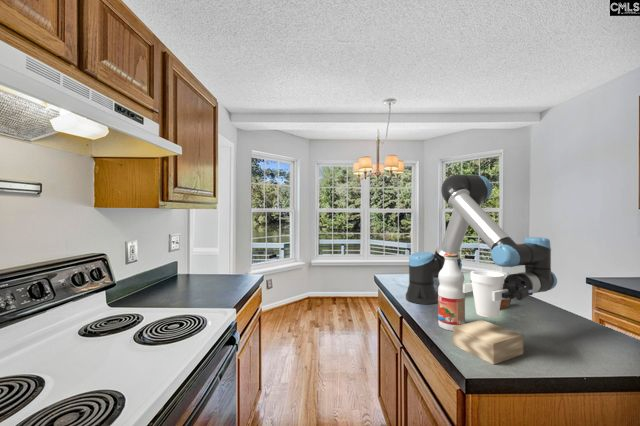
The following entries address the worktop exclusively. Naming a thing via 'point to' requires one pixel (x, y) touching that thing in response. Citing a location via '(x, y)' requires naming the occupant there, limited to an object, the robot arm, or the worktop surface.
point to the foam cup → (486, 292)
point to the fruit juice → (451, 294)
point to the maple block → (488, 341)
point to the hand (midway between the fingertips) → (477, 292)
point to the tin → (505, 303)
